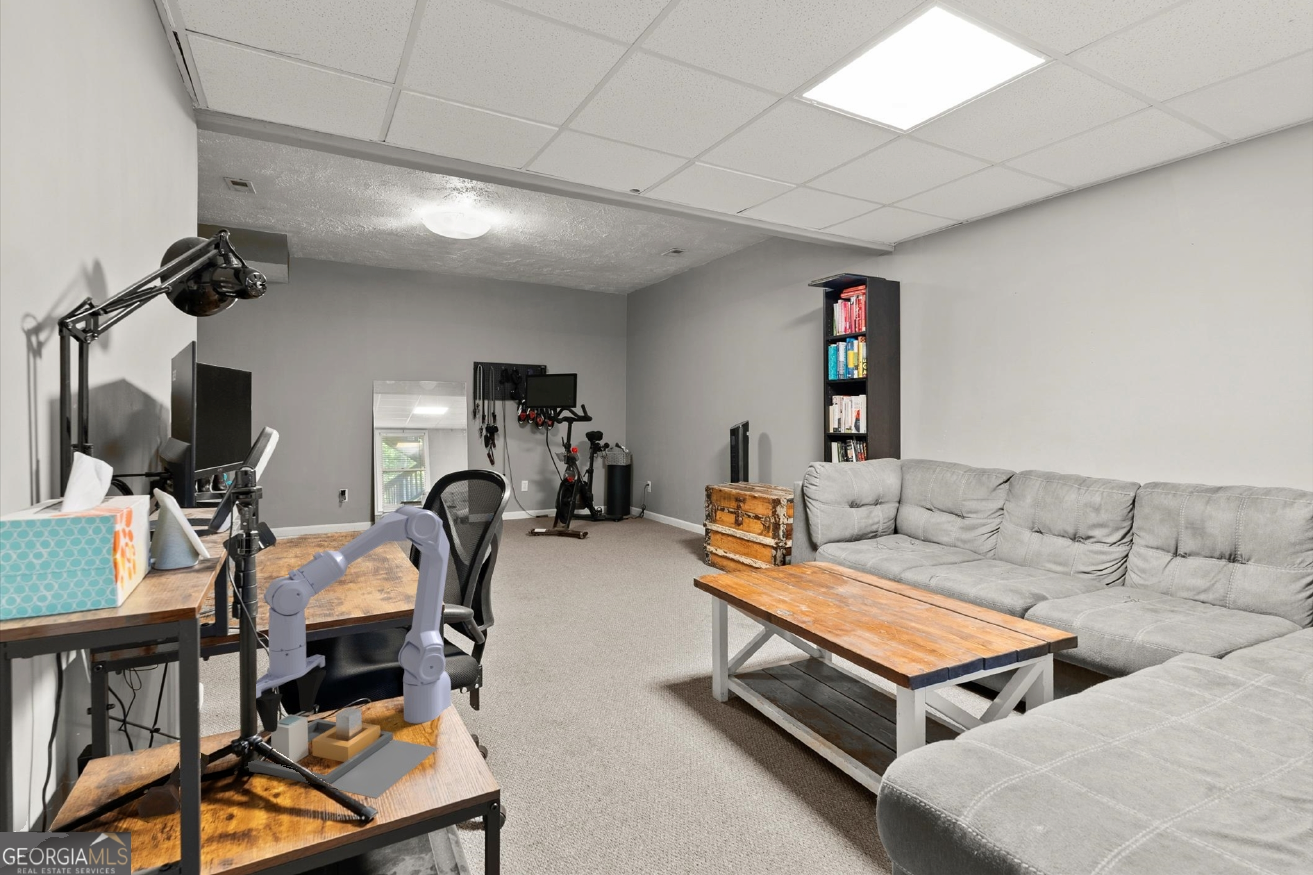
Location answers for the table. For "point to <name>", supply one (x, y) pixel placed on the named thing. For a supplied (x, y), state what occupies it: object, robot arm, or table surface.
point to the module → (291, 737)
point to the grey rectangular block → (348, 724)
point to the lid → (383, 768)
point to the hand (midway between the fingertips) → (289, 720)
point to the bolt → (165, 795)
